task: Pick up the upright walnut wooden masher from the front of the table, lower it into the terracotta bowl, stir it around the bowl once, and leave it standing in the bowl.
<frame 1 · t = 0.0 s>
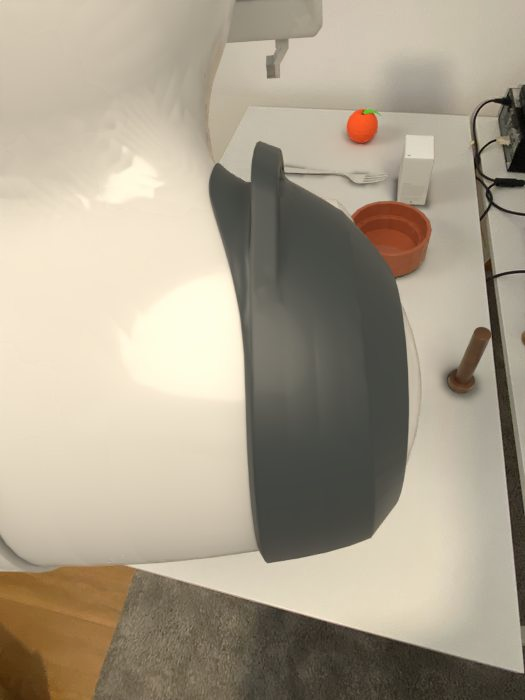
hand: (232, 78, 57), 39 cm above the table, tool pointing down, fingers open, 8 cm apart
bowl: (385, 252, 93), on the table
clementine: (363, 140, 115), on the table
small box: (410, 193, 103), on the table
fork: (330, 176, 108), on the table
masher: (459, 383, 76), on the table
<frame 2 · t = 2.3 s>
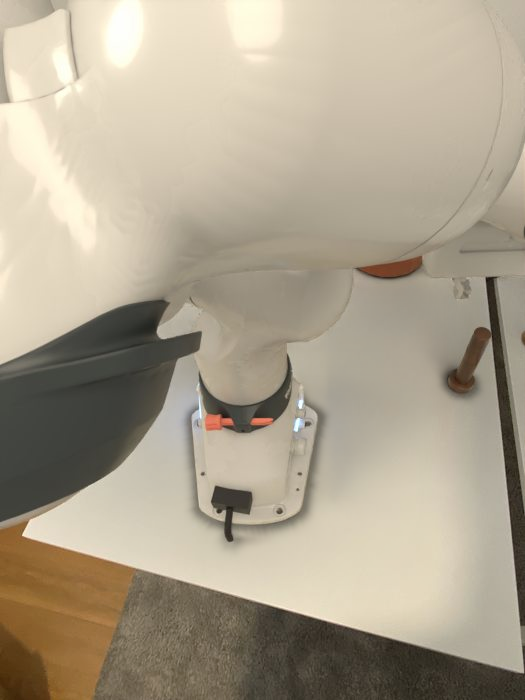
hand: (501, 293, 59), 20 cm above the table, tool pointing down, fingers open, 8 cm apart
nothing on the table moved.
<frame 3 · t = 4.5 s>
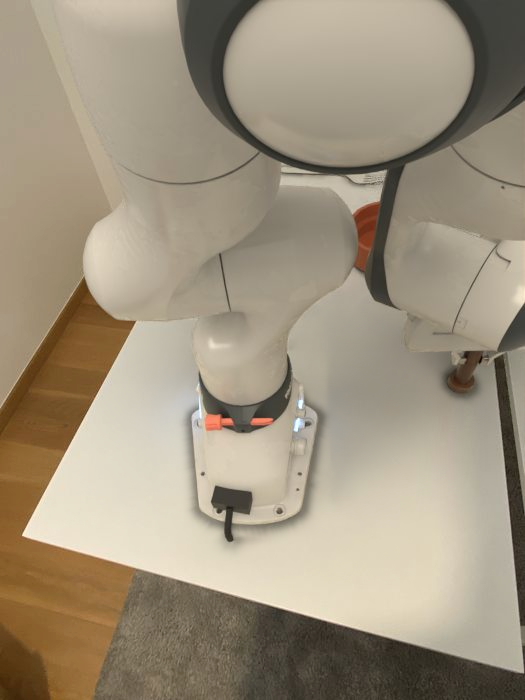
hand: (470, 360, 71), 6 cm above the table, tool pointing down, fingers closed on masher, 2 cm apart
masher: (459, 383, 76), on the table, touching gripper
everything else where it was.
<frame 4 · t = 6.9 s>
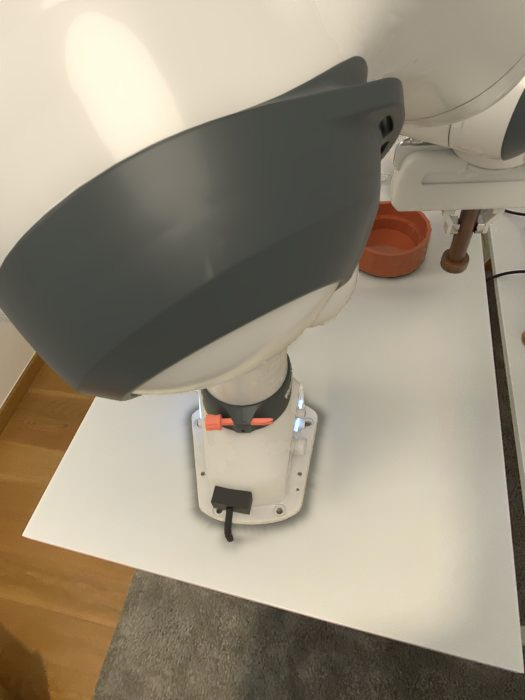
hand: (464, 230, 64), 21 cm above the table, tool pointing down, fingers closed on masher, 2 cm apart
masher: (453, 264, 69), point 15 cm above the table, touching gripper
everything else where it was.
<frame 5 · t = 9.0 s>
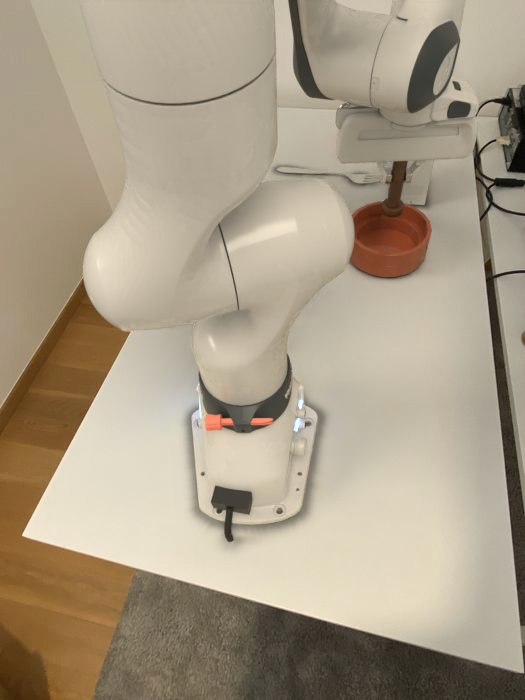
hand: (397, 181, 81), 15 cm above the table, tool pointing down, fingers closed on masher, 2 cm apart
masher: (391, 210, 86), point 9 cm above the table, touching gripper
everything else where it was.
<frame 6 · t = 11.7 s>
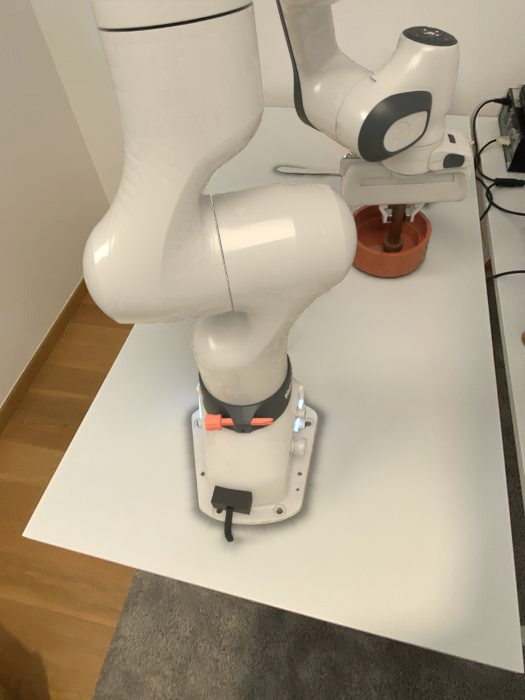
hand: (397, 220, 86), 8 cm above the table, tool pointing down, fingers closed on masher, 2 cm apart
masher: (392, 246, 92), point 2 cm above the table, touching gripper
everything else where it was.
when the fingers open (7 cm above the table, at t = 13.4 s): masher stays where it is, resting on bowl.
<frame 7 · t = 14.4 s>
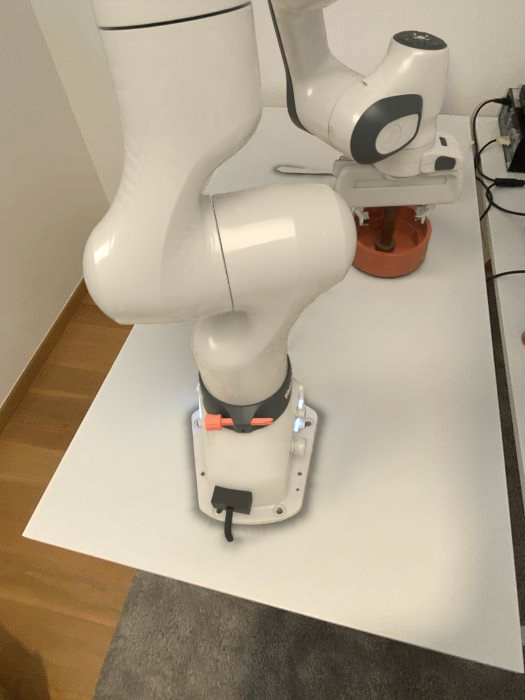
hand: (390, 222, 87), 7 cm above the table, tool pointing down, fingers open, 8 cm apart
masher: (384, 247, 93), point 1 cm above the table, touching bowl
everything else where it was.
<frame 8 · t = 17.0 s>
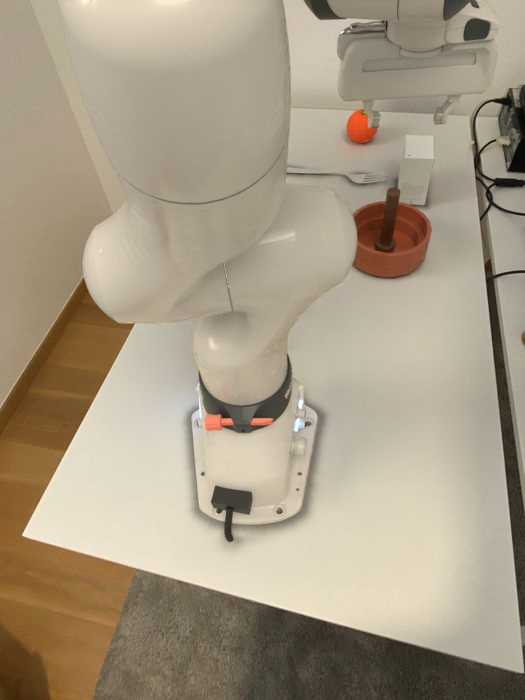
hand: (405, 124, 73), 25 cm above the table, tool pointing down, fingers open, 8 cm apart
nothing on the table moved.
at the end: masher inside the target area in the bowl (0.3 cm from its centre), point 0.8 cm above the bowl's base; masher tilted 0°; the gripper is holding nothing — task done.
